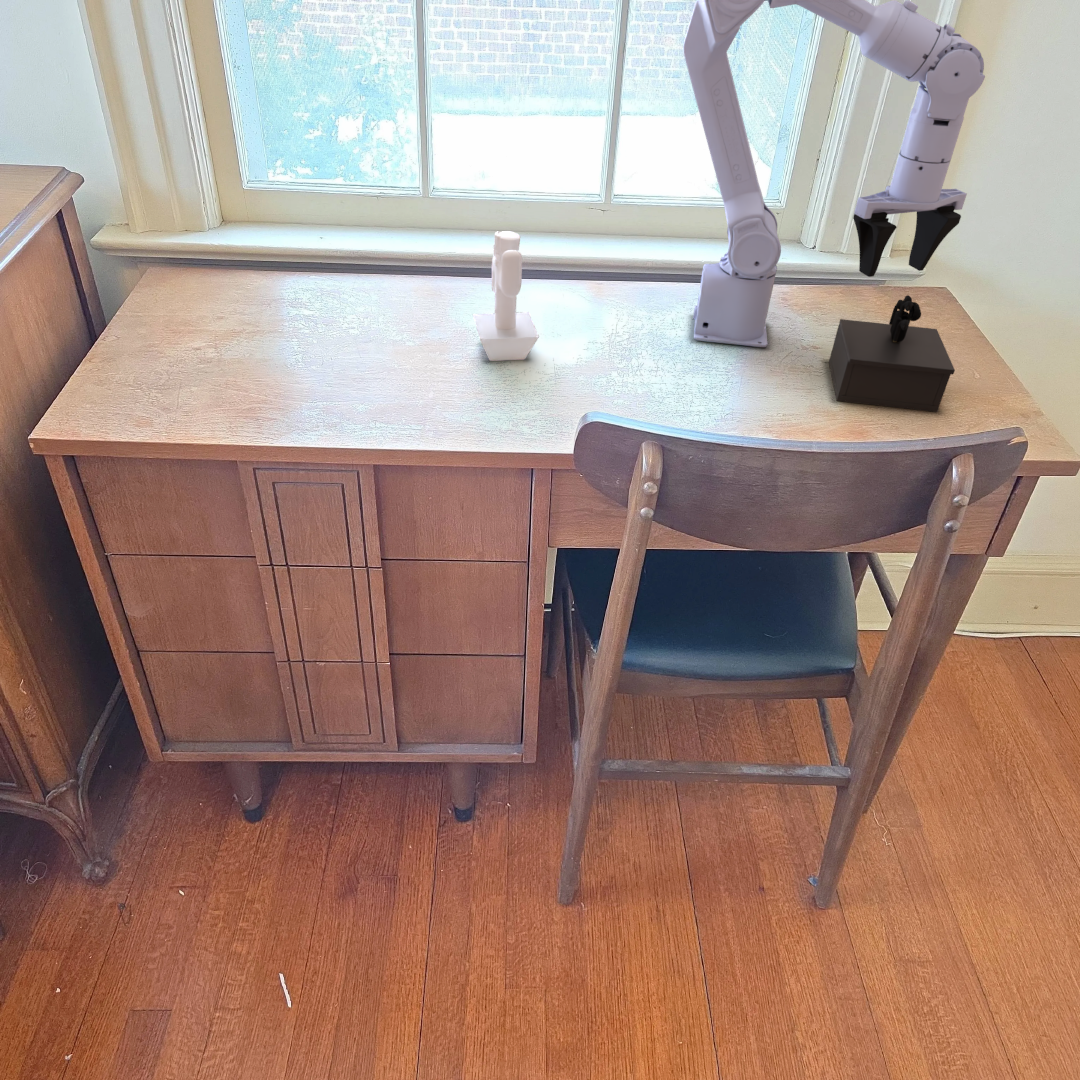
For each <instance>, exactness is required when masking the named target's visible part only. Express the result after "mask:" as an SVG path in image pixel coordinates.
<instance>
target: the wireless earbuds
mask: <svg viewBox="0 0 1080 1080" xmlns="http://www.w3.org/2000/svg"><path fill="white" fill-rule="evenodd" d="M920 307H921V306H920V305H919V303H917V302H916V301H913V298H912V297H911V296H910V295H909V294H907V295H905V296H904V299H898V300H897V302H896V304H895V305H894V307H893V310H892V312H891V316H890V319H889V322H888V324H890V325H892V326H891V329H890V332H891V337H892V339H893V342H901V341H903V340H904V338H905V336H906V333H907V329H908V326H910V323H911V322H916V321H918V320H919V319H921V316H922V311H921V308H920Z"/></svg>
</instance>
